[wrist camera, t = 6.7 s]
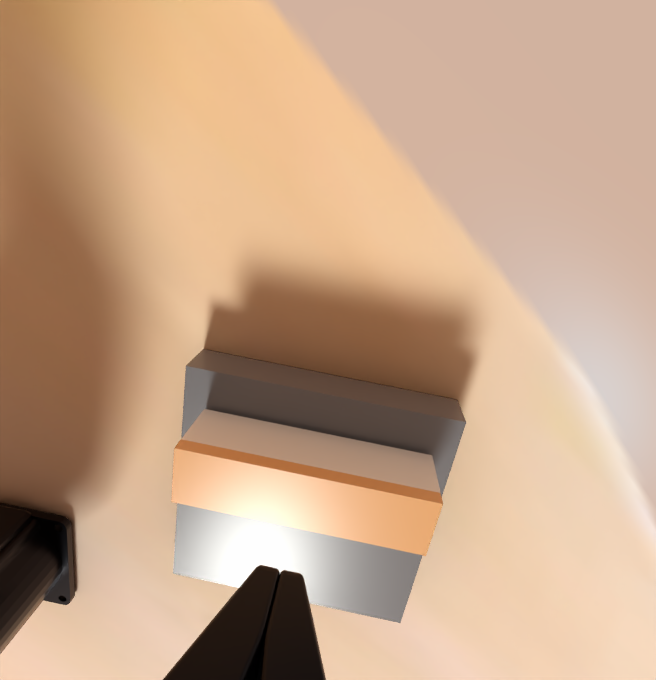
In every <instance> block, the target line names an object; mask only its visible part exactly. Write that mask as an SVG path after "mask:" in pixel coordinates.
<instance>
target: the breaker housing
mask: <svg viewBox="0 0 656 680" xmlns="http://www.w3.org/2000/svg"><path fill="white" fill-rule="evenodd" d="M204 409H208V410H213V411H217V412H222V413H227V414H232V415H237V416H242V417H247V418H252V419H257V420H262V421H266V422H271V423H276V424H281V425H286V426H291V427H296V428H301V429H306V430H311V431H315V432H320V433H325V434H330V435H335V436H340V437H345V438H350V439H355V440H359V441H364V442H369V443H374V444H379V445H384V446H389V447H394V448H399V449H404V450H408V451H413V452H418V453H423V454H428V455H432V457H433V461H434V466H435V470H436V475H437V479H438V484H439V488H440V493H441V497H442V494H443V491H444V488H445V485H446V482H447V479H448V476H449V473H450V470H451V467H452V464H453V461H454V458H455V455H456V452H457V448H458V445H459V442H460V439H461V436H462V433H463V430H464V427H465V424H466V421H465V418H464V416H463V413H462V411H461V408H460V406H459V403H458V401H457V400H455V399H450V398H445V397H440V396H435V395H430V394H425V393H420V392H415V391H410V390H405V389H400V388H395V387H390V386H385V385H380V384H375V383H370V382H365V381H360V380H355V379H350V378H345V377H340V376H335V375H330V374H325V373H320V372H315V371H310V370H305V369H300V368H295V367H290V366H285V365H280V364H275V363H270V362H265V361H260V360H255V359H250V358H245V357H240V356H235V355H230V354H225V353H220V352H215V351H210V350H205V349H203V350H202V351H201V352H200V353H199V354H198V355H197V356H196V357H195V358H194V359H193V360H192V361H191V362H190V363H188V364H187V365H186V374H185V390H184V406H183V422H182V437H183V436H184V435H185V433H186V432H187V431H188V430H189V428H190V427H191V426H192V424H193V423H194V422H195V420H196V419H197V418H198V416H199V415H200V414H201V412H202V411H203V410H204ZM421 558H422V555H419V554H414V553H410V552H405V551H400V550H395V549H391V548H386V547H381V546H377V545H372V544H367V543H362V542H358V541H353V540H348V539H344V538H339V537H334V536H329V535H325V534H320V533H315V532H311V531H306V530H301V529H296V528H292V527H287V526H282V525H278V524H273V523H268V522H263V521H259V520H254V519H249V518H245V517H240V516H235V515H230V514H226V513H221V512H216V511H212V510H207V509H202V508H197V507H193V506H188V505H183V504H179V503H177V519H176V535H175V552H174V568H173V574H178V575H182V576H187V577H191V578H196V579H201V580H205V581H210V582H214V583H219V584H224V585H228V586H233V587H237V588H239V587H240V586H241V585H242V584H243V582H244V581H245V580H246V579H247V578H248V576H249V575H250V574H251V573H252V572H253V570H254V569H255V568H256V567H257V566H259V565H264V566H269V567H273V568H277V569H278V570H279V571H280V572H281V571H283V570H287V571H292V572H296V573H300V574H302V575H303V577H304V581H305V585H306V590H307V594H308V599H309V603H311V604H315V605H320V606H325V607H329V608H334V609H338V610H343V611H348V612H352V613H357V614H361V615H366V616H371V617H375V618H380V619H384V620H389V621H394V622H398V623H400V622H401V619H402V616H403V613H404V610H405V607H406V604H407V601H408V598H409V595H410V592H411V589H412V586H413V583H414V579H415V576H416V573H417V570H418V567H419V564H420V561H421Z"/></svg>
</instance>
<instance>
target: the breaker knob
mask: <svg viewBox="0 0 656 680" xmlns="http://www.w3.org/2000/svg"><path fill="white" fill-rule="evenodd" d="M171 502H174V503H179V504H183V505H188V506H193V507H197V508H202V509H207V510H212V511H216V512H221V513H226V514H230V515H235V516H240V517H245V518H249V519H254V520H259V521H263V522H268V523H273V524H278V525H282V526H287V527H292V528H296V529H301V530H306V531H311V532H315V533H320V534H325V535H329V536H334V537H339V538H344V539H348V540H353V541H358V542H362V543H367V544H372V545H377V546H381V547H386V548H391V549H395V550H400V551H405V552H410V553H414V554H419V555H424V556H426V554H427V551H428V548H429V545H430V542H431V539H432V536H433V533H434V530H435V527H436V524H437V521H438V518H439V515H440V512H441V508H442V505H443V502H442V497H441V493H440V488H439V484H438V479H437V475H436V470H435V466H434V461H433V457H432V455H428V454H423V453H418V452H413V451H408V450H404V449H399V448H394V447H389V446H384V445H379V444H374V443H369V442H364V441H359V440H355V439H350V438H345V437H340V436H335V435H330V434H325V433H320V432H315V431H311V430H306V429H301V428H296V427H291V426H286V425H281V424H276V423H271V422H266V421H262V420H257V419H252V418H247V417H242V416H237V415H232V414H227V413H222V412H217V411H213V410H208V409H204V410H203V411H202V412H201V414H200V415H199V416H198V418H197V419H196V420H195V422H194V423H193V424H192V426H191V427H190V428H189V430H188V431H187V432H186V433H185V435H184V436H183V437H182V439H181V440H180V441H179V443H178V444H177V445H176V447H175V448H174V464H173V481H172V499H171Z"/></svg>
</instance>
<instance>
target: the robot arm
mask: <svg viewBox="0 0 656 680" xmlns="http://www.w3.org/2000/svg"><path fill="white" fill-rule="evenodd" d="M74 596H75V589H74V568H73V546H72V525H71V522H70V521H69V519H67V518H66V517H63V516H59V515H54V514H50V513H45V512H41V511H36V510H31V509H27V508H22V507H17V506H13V505H8V504H3V503H0V654H1V653H2V651H3V650H4V649H5V647H6V646H7V645H8V644H9V642H10V641H11V640H12V639H13V637H14V636H15V635H16V634H17V632H18V631H19V630H20V629H21V627H22V626H23V625H24V624H25V622H26V621H27V620H28V619H29V617H30V616H31V615H32V614H33V612H34V611H35V610H36V609H37V607H38V606H39V605H40V604H41V602H42V601H43V600H45V601H49V602H54V603H58V604H63V605H67V604H69V603H70V602H71V600H72V599H73V598H74ZM163 680H326V678H325V673H324V669H323V664H322V659H321V655H320V650H319V645H318V641H317V636H316V631H315V627H314V622H313V618H312V613H311V608H310V604H309V599H308V594H307V590H306V585H305V581H304V577H303V575H302V574H300V573H296V572H292V571H287V570H283V571H281V572H280V571H279V570H278V569H277V568H273V567H269V566H264V565H259V566H257V567H256V568H255V569H254V570H253V572H252V573H251V574H250V575H249V576H248V578H247V579H246V580H245V581H244V582H243V584H242V585H241V586H240V587H239V588H238V590H237V591H236V592H235V593H234V594H233V596H232V597H231V598H230V599H229V601H228V602H227V603H226V604H225V605H224V607H223V608H222V609H221V610H220V611H219V613H218V614H217V615H216V616H215V617H214V619H213V620H212V621H211V622H210V623H209V625H208V626H207V627H206V628H205V629H204V631H203V632H202V633H201V634H200V635H199V637H198V638H197V639H196V640H195V642H194V643H193V644H192V645H191V646H190V648H189V649H188V650H187V651H186V652H185V654H184V655H183V656H182V657H181V658H180V660H179V661H178V662H177V663H176V664H175V666H174V667H173V668H172V669H171V670H170V672H169V673H168V674H167V675H166V676H165V678H164V679H163Z"/></svg>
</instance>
